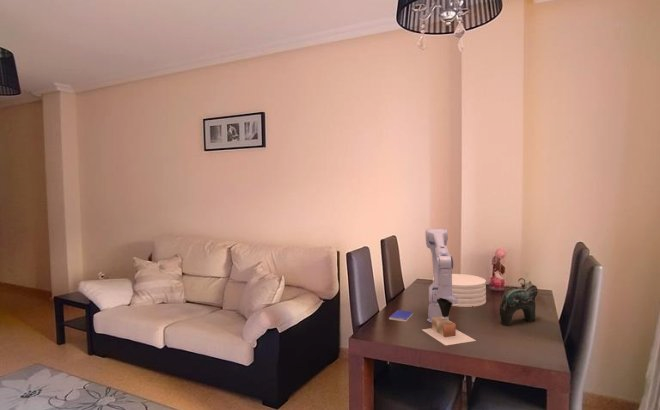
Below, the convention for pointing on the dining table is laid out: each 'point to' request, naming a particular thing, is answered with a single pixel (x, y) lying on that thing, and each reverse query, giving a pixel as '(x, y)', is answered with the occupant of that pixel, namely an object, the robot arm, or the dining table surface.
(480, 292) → the plate stack
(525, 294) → the green elephant figurine
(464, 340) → the beige mat
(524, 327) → the dining table surface
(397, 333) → the dining table surface
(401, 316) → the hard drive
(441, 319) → the birch block
